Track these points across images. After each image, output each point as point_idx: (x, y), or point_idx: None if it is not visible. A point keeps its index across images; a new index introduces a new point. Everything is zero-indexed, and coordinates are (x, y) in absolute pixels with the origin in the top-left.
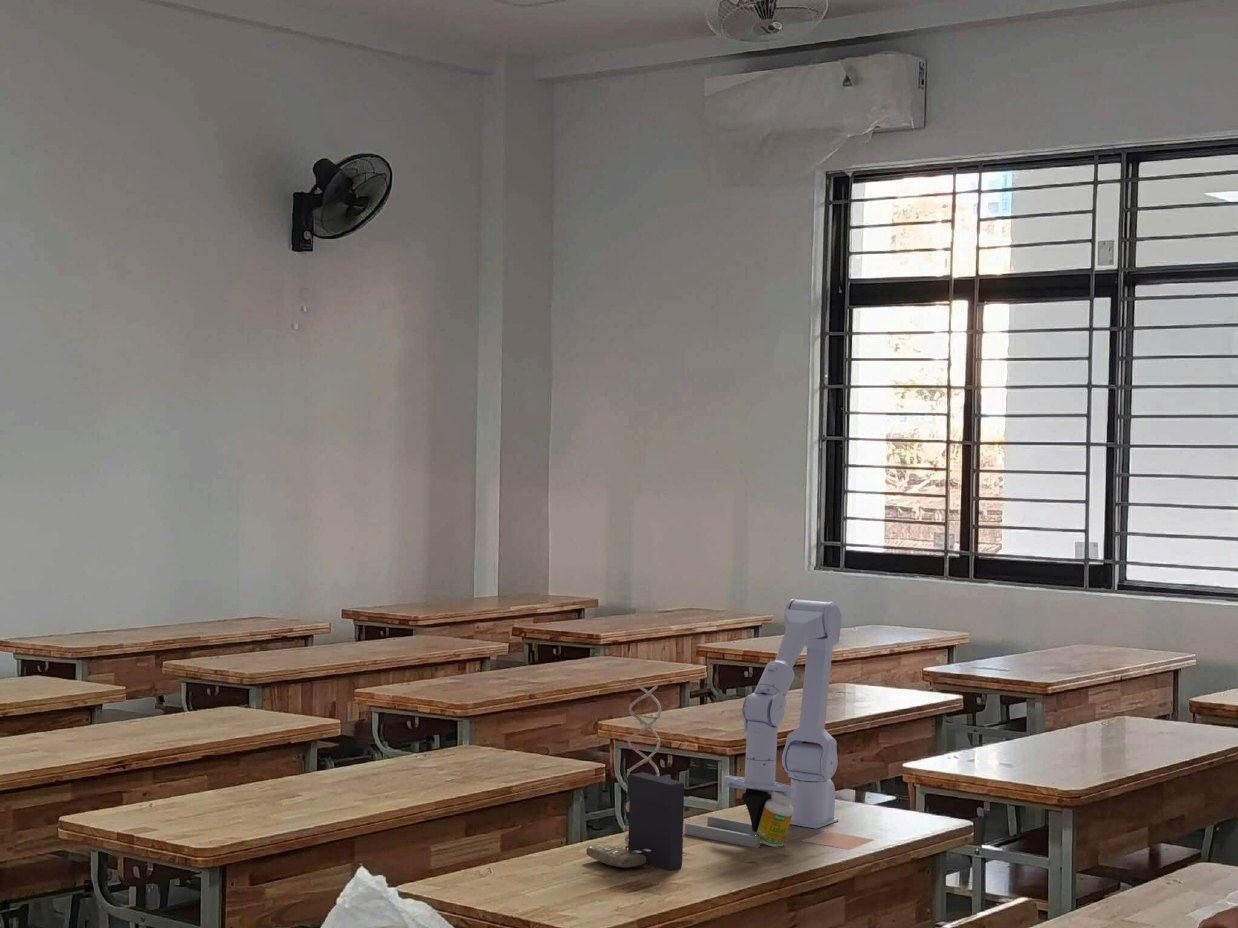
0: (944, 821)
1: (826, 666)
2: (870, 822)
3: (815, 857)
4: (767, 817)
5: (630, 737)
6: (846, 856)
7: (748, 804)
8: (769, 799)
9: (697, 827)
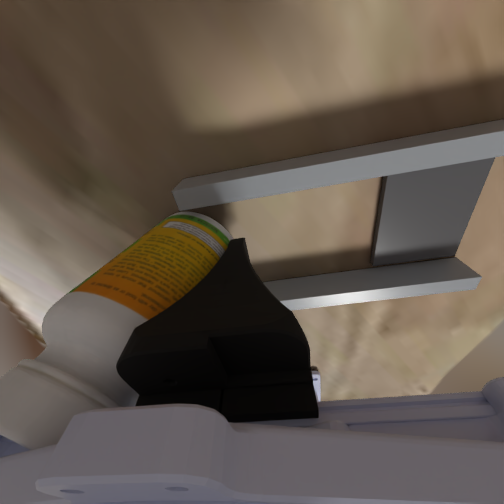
0: None
1: None
2: None
3: (20, 234)
4: (125, 266)
5: None
6: (20, 293)
7: (248, 294)
8: None
9: (476, 132)
